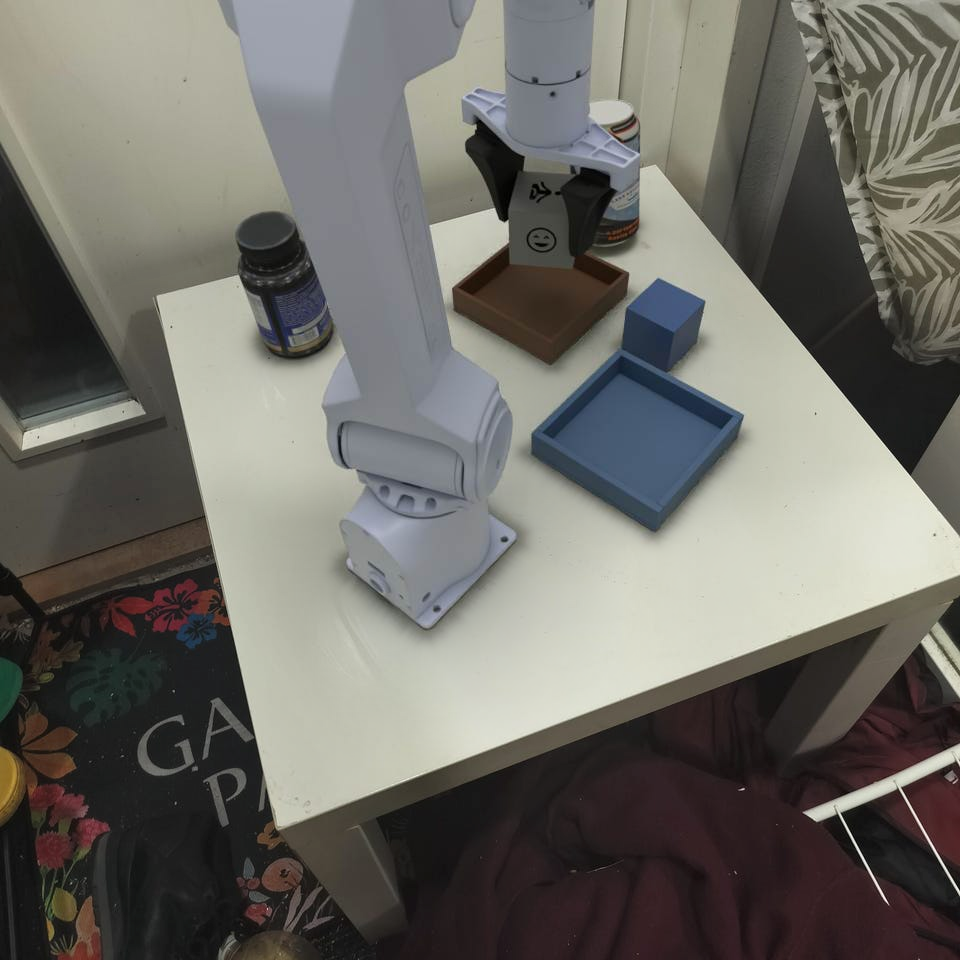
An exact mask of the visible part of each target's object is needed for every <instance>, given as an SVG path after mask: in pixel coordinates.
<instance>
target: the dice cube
mask: <svg viewBox="0 0 960 960" xmlns="http://www.w3.org/2000/svg"><path fill="white" fill-rule="evenodd" d="M574 176H576V175H575V174H570V173H559V172H558V173H557V172H543V171H542V172H541V171H525V170H523V171H518V174H517V178H516V182H515V186H514V190H513V194H512V198H511V202H510V205H509V209H508V221H507V222H508V243H509V262H510V264H515V265H527V266H540V267H552V268H565V269H573V264H574V259H575V257H573V256H571V255H570V252H569V245H568V244H569V221H568V214H567V209H566V206H565V202H564V200H563V197H562V195H561V193H560V188H561V187H562V186H563V185H564V184H565V183H567V182H568V181H569V180H570V179H572V178H573V177H574Z"/></svg>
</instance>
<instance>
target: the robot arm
mask: <svg viewBox="0 0 960 960" xmlns="http://www.w3.org/2000/svg"><path fill="white" fill-rule="evenodd" d="M217 1H218V4H219V8H220V10H221V12H222V15H223V18H224V21H225V23H226V26H227V27H228V28H229V29H230V30H231V31H232V32H233V33H234V34H235V35H236V36H238V39H239V45H240V49H241V54H242V59H243V64H244V69H245V73H246V79H247V82H248V87H249V91H250V94H251V98H252V100H253V103H254V107H255V110H256V113H257V116H258V119H259V122H260V125H261V127H262V129H263V133H264V135H265V138H266V140H267V143H268V146H269V148H270V151H271V155H272V157H273V160H274V162H275V165H276V168H277V170H278V174H279V175H280V178H281V181H282V184H283V187H284V190H285V192H286V194H287V197H288V200H289V203H290V205H291V208H292V211H293V214H294V216H295V219H296V221H297V224H298V227H299V229H300V233H301V235H302V238H303V241H304V242H305V244H306V246H307V249H308V252H309V254H310V257H311V260H312V263H313V265H314V268H315V271H316V273H317V276H318V279H319V282H320V284H321V287H322V290H323V292H324V295H325V298H326V301H327V305H328V309H329V312H330V315H331V316H332V317H331V318H332V319H333V320H332V321H333V322H334V325H335V327H336V330H337V333H338V336H339V339H340V341H341V344H342V346H343V350H344V352H345V353H344V355H343V356H342V357H341V358H340V360H339V361H338V363H337V365H336V367H335V369H334V370H333V372H332V375H331V376H330V379H329V381H328V384H327V385H326V388H325V391H324V394H323V397H322V400H321V408H322V410H323V413H324V415H325V418H326V419H325V420H326V429H325V430H326V434H325V435H326V444H327V447H328V450H329V453H330V456H331V458H332V460H333V463H334V464H335V465H336V466H338V467H339V468H341V469H345V470H355V472H356V476H357V479H358V482H359V484H363V485H365V486H364V488H363V489H362V492H361V493H360V495H359V497H358V499H357V500H356V501H355V503H354V505H352V507H351V508H349V510H348V511H347V512H346V513H345V514H344V515H343V516H342V518H341V519H340V521H339V530H340V533H341V536H342V539H343V542H344V545H345V547H346V550H347V553H348V556H349V557H348V558H347V559H346V566H347V568H348V569H349V570H350V571H351V572H352V573H354V574H355V575H356V576H358V577H359V578H360V579H361V580H362V581H364V583H366V584H368V585H369V586H370V587H371V588H372V589H374V590H375V591H377V592H378V593H379V594H380V595H381V596H382V597H384V598H385V599H387V600H388V602H390V603H391V604H393V606H395V607H396V608H398V609H399V610H400V611H401V612H403V613H404V615H406V616H408V617H409V618H410V619H411V620H413V622H415V623H416V624H418V625H419V626H420V627H421V628H423V629H426V630H427V629H431V628H432V627H433V626H435V624H436V623H437V622H438V621H439V620H440V619H441V618H443V616H444V615H445V614H446V613H447V612H448V611H449V610H450V609H451V608H452V607H453V606H454V605H455V604H456V603H457V602H458V601H459V600H460V598H462V596H463V595H464V594H466V592H467V591H468V590H470V588H471V587H472V586H473V585H474V584H475V583H476V582H477V581H478V580H479V579H480V578H481V577H482V576H483V575H484V574H485V572H487V571H488V570H489V568H491V566H492V565H493V564H494V563H495V562H496V561H498V559H499V558H500V557H501V556H502V555H503V554H504V553H505V552H506V551H507V550H508V549H509V548H510V547H511V546H512V544H513V543H515V542H516V540H517V533H516V531H515V530H514V529H512V528H511V527H510V526H508V525H506V524H505V523H504V522H502V521H501V520H499V519H498V518H496V517H495V516H493V515H492V514H491V513H489V505H488V498H489V497H490V496H491V495H493V493H494V492H495V490H496V488H497V487H498V485H499V483H500V481H501V478H502V476H503V473H504V470H505V467H506V463H507V461H508V456H509V451H510V448H511V443H512V437H513V436H512V435H513V425H514V419H513V418H514V417H513V412H512V410H511V409H510V407H509V405H508V402H507V401H506V398H504V397H502V393H501V392H500V391H501V390H500V383H499V380H498V379H497V378H496V377H494V376H493V375H492V374H491V373H489V372H488V371H486V370H485V369H483V367H481V366H480V365H478V364H477V363H475V362H473V361H472V360H471V359H469V358H467V356H465V355H463V354H462V353H461V352H460V351H458V350H457V349H455V348H454V347H453V342H452V337H451V332H450V331H451V330H450V327H449V320H448V316H447V311H446V305H445V300H444V295H443V290H442V285H441V280H440V273H439V269H438V268H439V267H438V263H437V258H436V253H435V248H434V242H433V237H432V232H431V226H430V221H429V215H428V209H427V204H426V201H425V195H424V189H423V184H422V179H421V174H420V168H419V163H418V158H417V152H416V146H415V142H414V141H415V140H414V136H413V131H412V125H411V120H410V116H409V109H408V104H407V99H406V95H405V94H406V93H405V88H406V86H407V84H409V82H410V81H412V80H414V79H416V78H418V77H421V76H422V75H424V74H426V73H428V72H430V71H431V70H434V69H435V68H437V67H439V66H442V65H443V64H445V63H447V62H449V61H451V60H453V59H454V58H455V57H456V56H457V53H458V50H459V48H460V47H459V46H460V44H461V41H462V38H463V34H464V31H465V27H466V26H467V23H468V21H469V20H470V18H471V17H472V14H473V11H474V8H475V5H476V2H477V0H217ZM595 4H596V0H502V5H503V8H502V9H503V45H504V86H505V87H504V90H505V92H498V91H494V90H491V89H487V88H485V87H482V86H477V87H475V88H474V89H472V90H470V91H469V92H467V93H466V94H465V95H463V96H462V97H461V98H460V100H461V101H460V102H461V115H462V122H463V123H464V124H467V125H469V126H475V128H476V129H474V134H472V135H471V136H470V137H468V138H467V139H466V140H465V142H464V149H465V153H466V154H467V156H469V158H470V159H471V161H472V162H473V163H474V165H475V166H476V168H477V169H478V171H479V173H480V174H481V176H482V178H483V181H484V183H485V185H486V188H487V189H488V192H489V195H490V198H491V200H492V203H493V207H494V209H495V213H496V215H497V219H498V220H499V221H500V222H503V223H504V224H505V223H507V222H508V209H509V205H510V202H511V198H512V194H513V190H514V186H515V182H516V178H517V174H518V171H524V169H525V159H526V158H531V159H535V160H541V161H547V162H552V163H558V164H563V165H569V166H570V165H574V166H579V167H581V168H580V174H578V175H576V176H574V177H573V178H572V179H570V180H569V181H568V182H567V183H565V184H564V185H563V186H562V187H561V188H560V193H561V195H562V197H563V200H564V202H565V206H566V209H567V214H568V221H569V244H568V245H569V252H570V255H571V256H573V257H575V258H579V257H580V256H582V255H583V254H584V253H585V252H588V251H589V250H590V249H591V248H592V247H593V242H594V239H595V236H596V233H597V230H598V227H599V225H600V222H601V220H602V218H603V215H604V213H605V211H606V209H607V207H608V205H609V204H610V202H611V200H612V199H613V197H614V195H615V194H616V192H617V191H620V192H622V191H623V190H625V189H626V188H627V187H629V186H630V185H631V184H632V183H633V182H634V181H635V180H637V179H638V173H639V164H640V165H641V152H640V153H637V152H635V151H633V150H631V149H629V148H628V147H626V146H624V145H623V144H622V143H620V142H619V141H618V140H617V139H615V138H614V137H613V136H612V135H611V134H610V133H608V132H607V131H606V130H605V129H604V128H602V127H601V126H600V125H599V124H598V123H596V122H595V121H594V120H593V119H592V118H590V117H589V116H588V115H589V114H590V104H589V102H590V96H591V95H590V93H591V75H592V60H593V59H592V58H593V42H594V25H595V24H594V23H595V6H596V5H595ZM503 540H506V542H504V541H503ZM436 609H439V611H437V612H436V611H435V610H436Z"/></svg>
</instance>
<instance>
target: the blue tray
mask: <svg viewBox="0 0 960 960" xmlns="http://www.w3.org/2000/svg"><path fill="white" fill-rule="evenodd" d="M744 417H745V414H744V413H742V412H741V411H738V410H736V409H735V408H732V406H731V407H730V406H729V405H727V404H724V403H723V402H721V401H719V400H718V399H715V398H714V397H713V396H710V395H708V394H706V393H704V392H703V391H701V390H699V389H698V388H696V387H694V386H691V385H689V384H688V383H686V382H684V381H682V380H680V379H678V378H677V377H674V376H673V375H671V374H670V373H668V372H665V371H663V370H661V369H659V368H657V367H655V366H654V365H652V364H650V363H648V362H646V361H644V360H642V359H640V358H639V357H637V356H635V355H633V354H631V353H629V352H627V351H626V350H624V349H622V348H621V347H619V348H618V349H617V350H616V351H615V352H614V353H613V354H611V356H610V357H609V358H608V359H606V360H605V361H604V363H602V364H601V366H599V367H598V368H597V369H596V370H595V371H594V372H593V373H591V375H590V376H589V377H588V378H587V379H586V380H585V381H584V382H583V383H582V384H580V385H579V386H578V388H576V389H575V391H573V392H572V393H571V395H569V396H568V397H567V398H566V399H565V400H564V401H563V402H562V403H561V404H560V405H559V406H558V407H557V408H556V409H554V410H553V412H552V413H551V414H549V415H548V416H547V417H546V418H545V420H543V421H542V422H541V423H540V424H539V425H538V426H537V427H536V428H535V429H534V430H533V431H532V432H531V434H530V451H531V452H530V454H531V455H532V456H534V457H535V458H537V459H538V460H540V461H541V462H543V463H544V464H546V465H548V466H550V467H551V468H552V469H554V470H555V471H558V472H559V473H561V474H562V475H563V476H565V477H567V478H569V479H570V480H571V481H573V482H575V483H576V484H578V485H579V486H581V487H582V488H584V489H586V490H587V491H589V492H591V493H593V494H594V495H595V496H597V497H598V498H600V499H602V500H603V501H605V502H606V503H608V504H609V505H611V506H613V507H614V508H616V509H617V510H619V511H620V512H622V513H623V514H625V515H626V516H629V517H630V518H632V519H633V520H635V521H636V522H638V523H639V524H641V525H643V526H644V527H646V528H647V529H649V530H650V531H652V532H654V533H655V532H656V531H657V530H658V529H659V528H660V527H661V526H662V525H663V523H664V522H665V521H666V520H667V519H668V518H669V517H670V515H671V514H672V513H673V512H674V511H675V510H676V508H677V507H678V506H679V505H680V504H681V503H682V502H683V500H684V499H685V498H686V497H687V496H688V494H689V493H690V492H691V491H692V490H693V489H694V487H695V486H696V485H697V484H698V483H699V482H700V481H701V480H702V478H703V477H704V476H705V475H706V474H707V473H708V471H709V470H710V469H711V468H712V467H713V466H714V464H715V463H716V462H717V461H718V460H719V458H721V456H722V455H723V454H724V453H725V452H726V450H728V448H729V447H730V446H731V445H732V443H733V442H734V441H735V440H736V439H737V438H738V437H739V433H740V430H741V427H742V425H743V421H744Z"/></svg>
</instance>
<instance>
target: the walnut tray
mask: <svg viewBox="0 0 960 960" xmlns="http://www.w3.org/2000/svg"><path fill="white" fill-rule="evenodd" d="M629 279H630V272H629V271H627V270H625V269H623V268H621V267H619V266H617V265H614V264H613V263H611V262H609V261H606V260H604V259H602V258H600V257H598V256H596V255H594V254H592V253H590V252H589V251H586V252H585V253H584V254H583V255H582V256H580V257H579V258H575V259H574V264H573V269H565V268H552V267H540V266H527V265H515V264H510V262H509V242H507V243H506V244H504V246H502V247H501V248H500V249H499V250H497V251H496V252H495V253H493V254H492V255H491V256H490V257H488V259H486V260H485V261H483V262H482V263H481V264H480V265H479V266H477V267H476V268H475V269H473V271H471V272H469V273H468V274H467V275H466V276H465V277H463V279H461V280H459V282H457V283H456V284H455V285H454V286H453V287H451V295H452V296H451V297H452V306H453V310H454V311H455V312H457V313H458V314H461V315H462V316H464V317H466V318H467V319H469V320H471V321H473V322H474V323H476V324H478V325H480V326H481V327H483V328H485V329H487V330H488V331H490V332H492V333H493V334H495V335H497V336H499V337H501V338H502V339H504V340H506V341H508V342H510V343H511V344H513V345H514V346H516V347H518V348H520V349H521V350H523V351H525V352H527V353H528V354H530V355H532V356H534V357H536V358H537V359H539V360H541V361H543V362H544V363H546V364H548V365H549V366H552V365H553V364H554V363H555V362H556V361H557V360H559V358H560V357H562V356H563V355H564V354H565V353H566V352H567V351H568V350H569V349H570V348H571V347H572V346H573V345H574V344H576V342H578V341H579V340H580V339H581V338H582V337H583V336H585V334H586V333H587V332H589V330H591V329H592V328H593V327H594V326H595V325H596V324H597V323H598V322H600V320H601V319H603V318H604V317H605V316H606V315H607V314H608V313H610V311H611V310H612V309H613V308H615V307H616V306H617V305H618V304H619V303H620V302H621V301H622V300H623V299H624V298H625V297H626V296H627V295H628V288H629V281H630V280H629Z"/></svg>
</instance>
